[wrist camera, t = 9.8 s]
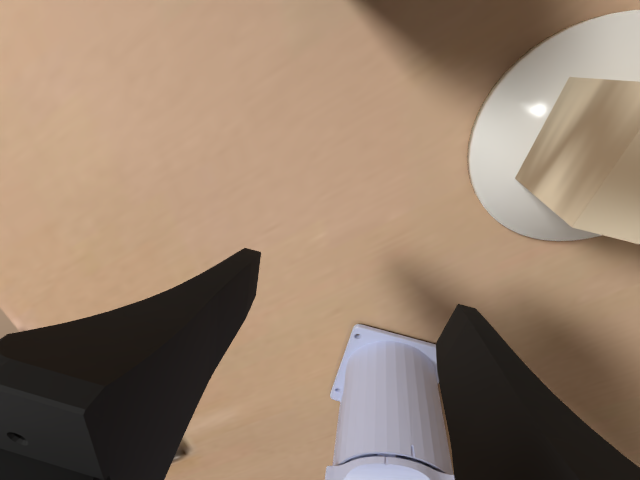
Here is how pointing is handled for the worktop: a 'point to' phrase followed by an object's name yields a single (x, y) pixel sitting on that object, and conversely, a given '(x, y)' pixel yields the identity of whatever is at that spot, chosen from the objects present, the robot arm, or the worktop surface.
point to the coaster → (542, 116)
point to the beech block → (590, 158)
